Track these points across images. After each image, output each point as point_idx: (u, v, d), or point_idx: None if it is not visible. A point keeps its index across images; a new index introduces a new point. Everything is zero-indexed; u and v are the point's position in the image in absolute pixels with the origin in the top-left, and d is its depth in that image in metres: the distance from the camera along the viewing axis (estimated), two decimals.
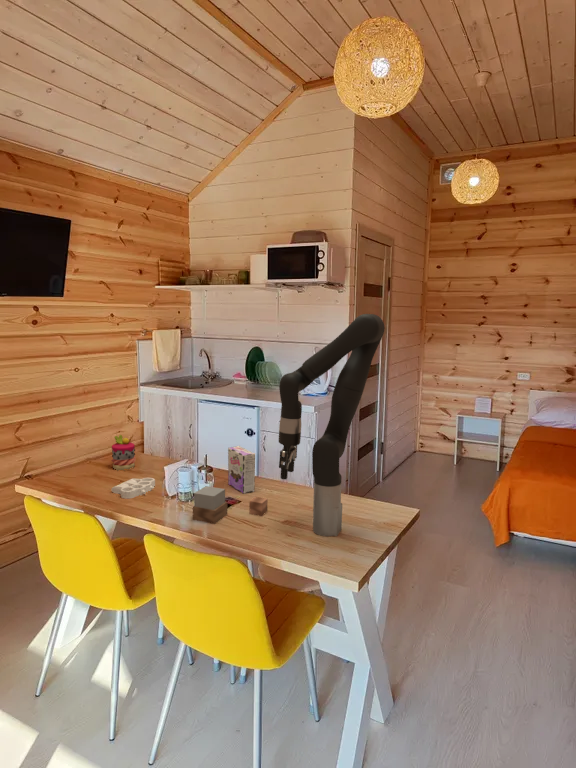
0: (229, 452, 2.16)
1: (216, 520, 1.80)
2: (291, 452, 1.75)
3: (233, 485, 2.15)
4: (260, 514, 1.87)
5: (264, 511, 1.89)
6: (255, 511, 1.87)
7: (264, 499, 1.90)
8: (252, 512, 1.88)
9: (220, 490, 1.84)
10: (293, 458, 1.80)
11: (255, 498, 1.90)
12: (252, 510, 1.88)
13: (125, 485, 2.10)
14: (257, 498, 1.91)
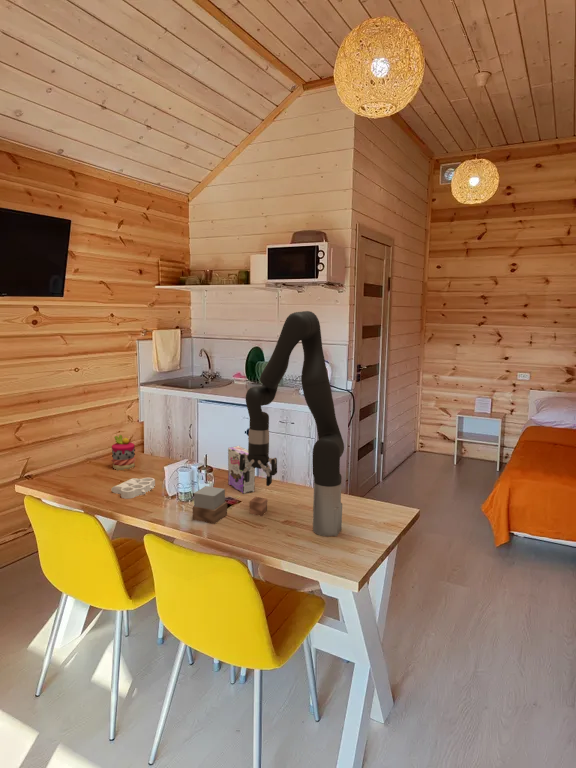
0: (229, 452, 2.16)
1: (216, 520, 1.80)
2: None
3: (233, 485, 2.15)
4: (260, 514, 1.87)
5: (264, 511, 1.89)
6: (255, 511, 1.87)
7: (264, 499, 1.90)
8: (252, 512, 1.88)
9: (220, 490, 1.84)
10: (250, 467, 1.90)
11: (255, 498, 1.90)
12: (252, 510, 1.88)
13: (125, 485, 2.10)
14: (257, 498, 1.91)
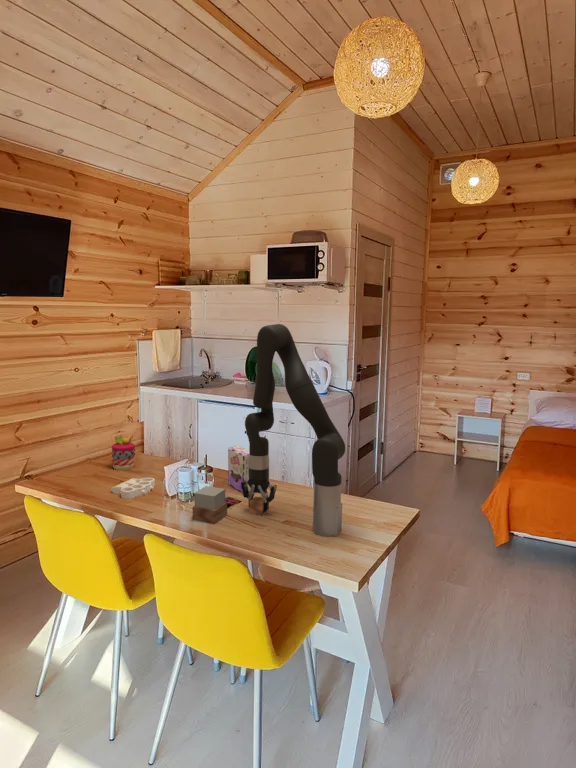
0: (229, 452, 2.16)
1: (216, 520, 1.80)
2: None
3: (233, 485, 2.15)
4: (260, 514, 1.87)
5: None
6: (255, 511, 1.87)
7: None
8: (252, 512, 1.88)
9: (220, 490, 1.84)
10: (254, 493, 1.91)
11: (255, 498, 1.90)
12: (252, 510, 1.88)
13: (125, 485, 2.10)
14: (257, 497, 1.91)
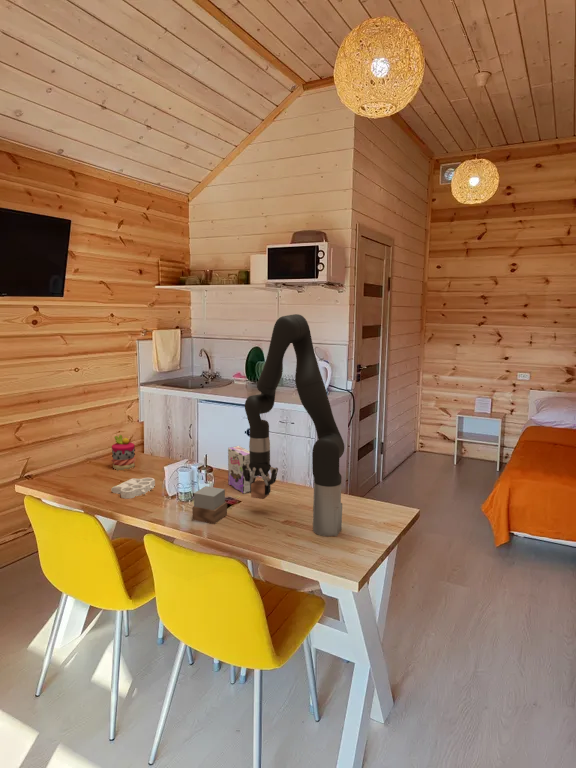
0: (229, 452, 2.16)
1: (216, 520, 1.80)
2: None
3: (233, 485, 2.15)
4: (262, 497, 1.86)
5: None
6: (256, 494, 1.87)
7: None
8: (254, 495, 1.87)
9: (220, 490, 1.84)
10: (255, 477, 1.90)
11: (257, 481, 1.90)
12: (254, 493, 1.87)
13: (125, 485, 2.10)
14: (258, 481, 1.90)
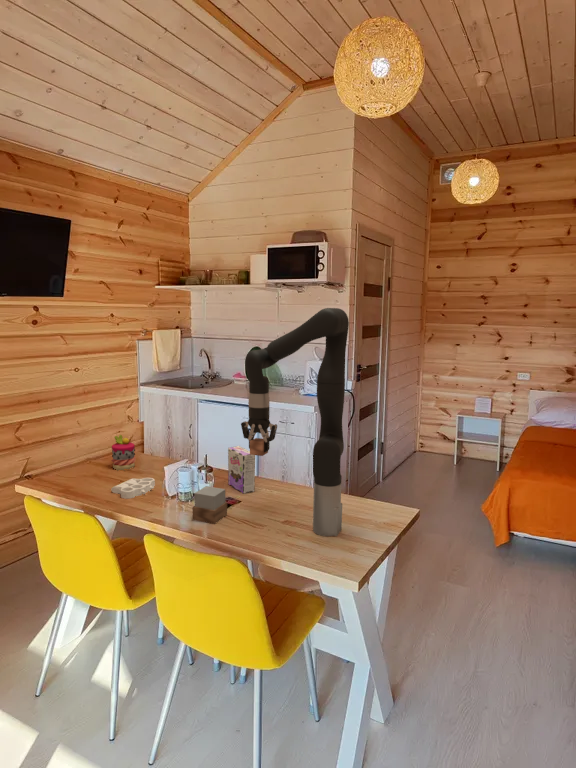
0: (229, 452, 2.16)
1: (216, 520, 1.80)
2: None
3: (233, 485, 2.15)
4: (261, 454, 1.83)
5: None
6: (255, 451, 1.84)
7: None
8: (252, 452, 1.85)
9: (220, 490, 1.84)
10: (254, 434, 1.88)
11: (255, 439, 1.87)
12: (253, 450, 1.85)
13: (125, 485, 2.10)
14: (257, 438, 1.88)
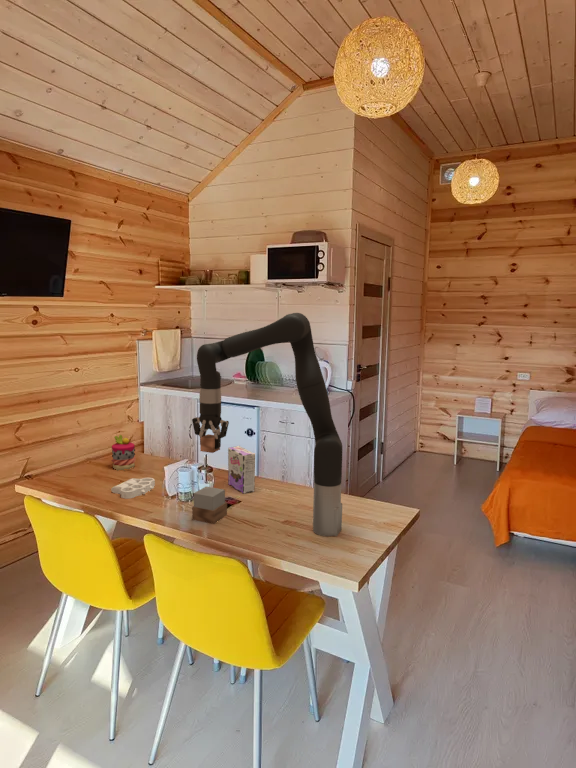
0: (229, 452, 2.16)
1: (216, 520, 1.80)
2: None
3: (233, 485, 2.15)
4: (211, 451, 1.78)
5: None
6: (206, 448, 1.79)
7: None
8: (203, 449, 1.80)
9: (220, 491, 1.84)
10: (206, 431, 1.82)
11: (207, 435, 1.82)
12: (203, 447, 1.79)
13: (125, 485, 2.10)
14: (209, 435, 1.82)
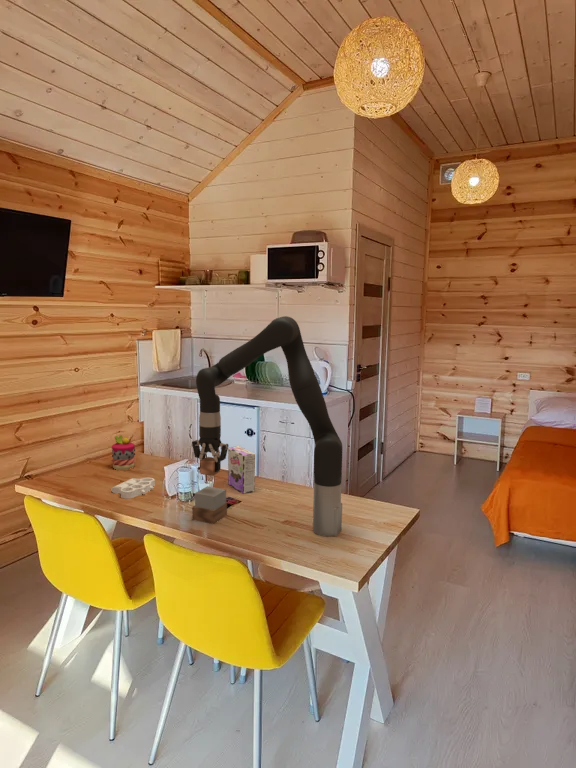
0: (229, 452, 2.16)
1: (215, 520, 1.80)
2: None
3: (233, 485, 2.15)
4: (211, 474, 1.79)
5: None
6: (205, 470, 1.80)
7: None
8: (203, 472, 1.81)
9: (221, 490, 1.84)
10: (206, 453, 1.83)
11: (207, 458, 1.83)
12: (203, 470, 1.80)
13: (125, 485, 2.10)
14: (209, 458, 1.83)
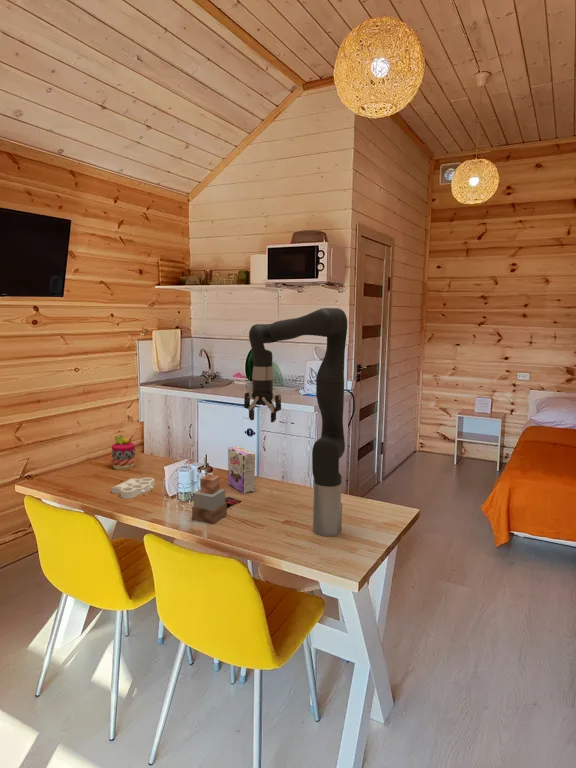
0: (229, 452, 2.16)
1: (215, 520, 1.80)
2: None
3: (233, 485, 2.15)
4: (211, 492, 1.81)
5: (215, 489, 1.83)
6: (205, 489, 1.81)
7: (216, 477, 1.84)
8: (203, 490, 1.82)
9: (220, 491, 1.84)
10: None
11: (206, 476, 1.84)
12: (203, 488, 1.82)
13: (124, 485, 2.10)
14: (208, 476, 1.85)
